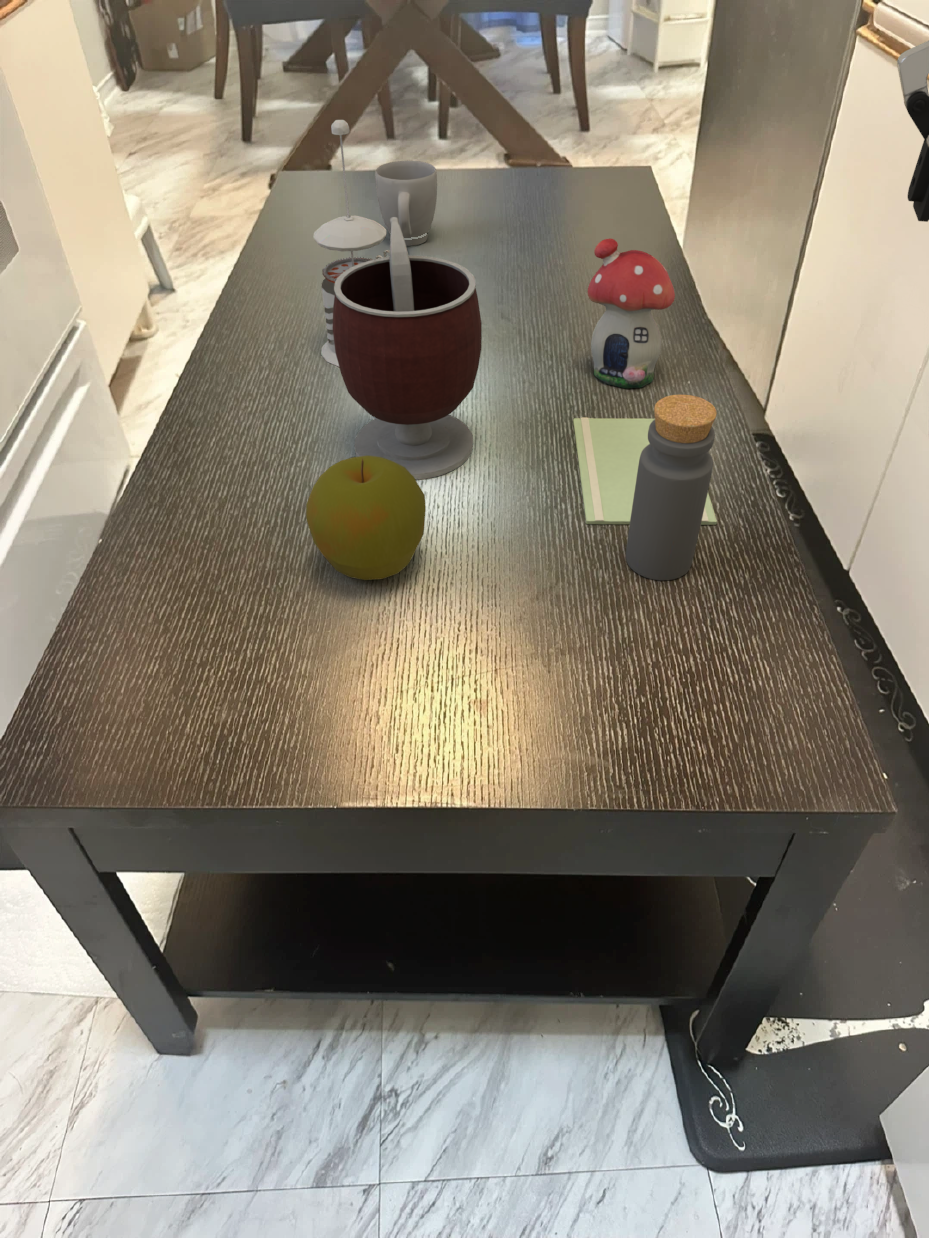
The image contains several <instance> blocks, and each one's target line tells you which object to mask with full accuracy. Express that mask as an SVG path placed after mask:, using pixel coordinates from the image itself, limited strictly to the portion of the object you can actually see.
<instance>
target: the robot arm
mask: <svg viewBox="0 0 929 1238" xmlns="http://www.w3.org/2000/svg"><path fill="white" fill-rule="evenodd" d="M896 66H897V72H898V77H899V83H900V88H901V92H902V97H903V105H904V107H905V109H906V111H907V114H908V115H909V117H910V119H911V120H912V122H913V123H914V126H915V127H916V129H917V130H918V132H919V133H920V135H921V136H922V138H923V143H922V145H921V149H920V151H919V155H918V158H917V161H916V163H915V167H914V171H913V174H912V177H911V179H910V183H909V186H908V189H907V200H908V202H913V203H912V207H913V208H912V209H913V211H914V213H915V216H916V219H917V221H918V222H927V223H928V222H929V88H928V87H929V86H928V76H929V40H927V41H924V42H923V43H920V44H918V45H916V46H914V47H913V46H912V47H911V48H909V49H907V50H904V51H903V52H902V53H901V54H900V55H899V56H898V58H897V61H896Z"/></svg>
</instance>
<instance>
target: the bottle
mask: <svg viewBox="0 0 929 1238" xmlns="http://www.w3.org/2000/svg"><path fill="white" fill-rule="evenodd" d="M653 412H654V419H655V420H653V421H652V422H651V424H650V426H649V430H648V441H649V443H650V444H649V445H647V446H646V447H645V448H644V449H643V450H642V452H641V455H640V460H639V465H638V472H637V478H636V485H635V492H634V499H633V505H632V512H631V519H630V524H628V525H629V526H628V533H627V539H626V540H627V541H626V549H625V560H626V563H627V565H628V567H629V568H630V569H631V570H632V571H633V572H635V573H636V574H637V575H639V576H641V577H644V578H646V579H649V580H653V581H672V580H676V579H679V578H681V577H683V576H686V574H687V573H688V572H689V571H690V569H691V568H692V566H693V565H692V564H693V561H694V557H695V554H696V553H695V552H696V548H697V543H698V538H699V534H700V529H701V526H702V525H701V521H702V517H703V512H704V508H705V503H706V498H707V494H708V493H709V489H710V485H711V480H712V476H713V470H714V469H713V468H714V459H713V456H712V455H711V453H710V452H709V451H710V450H711V449H712V448H713V446H714V443H715V439H716V438H715V437H716V432H715V429H714V428H713V424H714V422H715V420H716V418H717V413H718V411H717V408H716V407H715V406H714V404H712V402H710V401H708V400H707V399H705V398H702V397H699V396H696V395H691V394H672V395H667V396H664V397H662V398H660V399H659V400H657V401H656V403H655V404H654V409H653Z"/></svg>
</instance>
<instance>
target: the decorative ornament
mask: <svg viewBox="0 0 929 1238" xmlns="http://www.w3.org/2000/svg"><path fill="white" fill-rule="evenodd" d="M618 246H619V243H618V241H617V240H615V238H605V239H602V240H601V241H599V242H598V243H597V245H596V246H595V248H594V251H593V253H594V256H595V257H596V258H598V259H601V260H602V265H601V266H600V267H599V268H598V270H596V272H595V274H594V275H593V277H592V279H590V282H589V284H588V286H587V296H588V299H589V300H590V301H591V303H595V304H597V305H598V304H599V305H602V306H603V307H605V311H604V312H603V314H602V315H601V317H600V318H599V319H598V321H597V322H596V325H595V327H594V329H593V332H592V334H591V335H592V336H591V341H590V350H591V356H592V362H593V376H594V377H595V378H597V379H598V380H600V382H603V383H604V384H606V385H609V386H613V387H617V388H621V389H627V390H628V389H639V388H641V389H642V388H643V387H645V386H647V385H649V384H651V383H652V382H653V380H654V377H655V367H656V364H657V362H658V360H659V357H660V355H661V352H662V334H661V332H660V328H659V326H658V324H657V322H656V320H655V318H654V316H653V314H652V311H655V310H657V311H660V310H666V309H668V308H669V307H671V306H672V305H673V303H674V302H675V298H676V293H675V288H674V285H673V283H672V281H671V277H670V275H669V273H668V271H667V269H666V268H665V266H664V265H663V264H662V263H661V262H660V261H659V260H658V259H657V258H656V257H654V256H653V255H651V254H649V253H647V252H645V251H643V250H637V249H629V250H626V251H623V252H622V251H621V252H620V251H618Z"/></svg>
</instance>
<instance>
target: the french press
mask: <svg viewBox="0 0 929 1238" xmlns="http://www.w3.org/2000/svg"><path fill="white" fill-rule="evenodd" d="M330 129H331V130H330V131H331V134H332V135H334V136H339V141H340V143H339V144H340V152H341V164H342V172H343V173H342V174H343V184H344V194H345V204H346V205H345V207H346V214H347V215H341V216H339V217H336V218H334V219H331V220H329V221H326V222H324V223H323V224H321V225H320V226H319V227H318V228H317V229H316V230H314V232H313V240H314V241H315V242H316V243H317V245H319V246H320V247H321V248H323V249H325V250H326V249H327V250H329V251H336V252H350V256H349V257H346V258H340V259H336V260H333V261H331V262H330V263H327V264H326V265H325V266H324V267H323V268H322V277H323V278H324V279H322V281H321V295H322V304H323V307H324V318H325V327H326V336H327V340H326V342H325V343H324V344H323V345H322V346H321V353H320V356H321V357H322V358H323V359H324V361H326V362H327V363H330V364H331V365H333V366H336V367H339V364H338V360H337V357H336V353H335V345H334V336H333V305H334V297H335V292H334V285H335V282H336V280H337V278H338V277H339V276H340V275H341V274H342V273H343V272H345V271H346V270H348V269H350V268H351V267H353V266H356V265H358V264H361V263H364V262H367V261H370V260H374V258H369V257H368V258H367V257H365V258H364V256H363V257H361V256H360V257H359V256H357V257H356V256H354V252H358V251H363V250H364V251H365V250H369V249H371V248H374V247H376V246H379V245H380V244H381V243H382V242H383V241H384V240H385V238H386V236H387V228H385V227H384V226H383V225H382V224H380V223H379V222H378V221H375V220H373V219H370V218H366V217H363V216H360V215H350V208H349V207H350V206H349V197H348V188H347V186H348V185H347V177H346V167H345V156H344V155H345V154H344V145H343V136H344V135H348V134H350V133H351V132H350V131H351V130H350V126H349V124H348V122H347V121H346V120H344V119H335V120H334V121H333V123H331V128H330ZM387 254H389V255H390V249H385V250H384V251H383V256H382V255H381V254H379V255H376V256H375V259H380V258H385V257H387ZM339 368H340V367H339Z"/></svg>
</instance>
